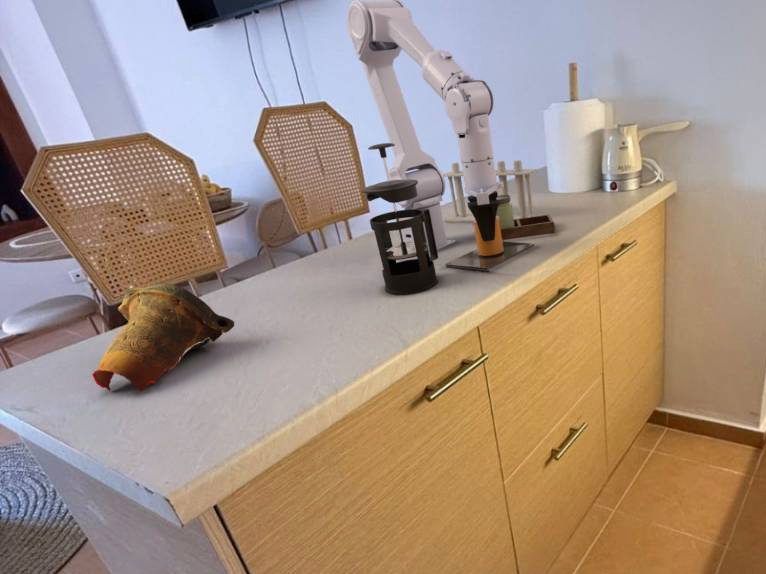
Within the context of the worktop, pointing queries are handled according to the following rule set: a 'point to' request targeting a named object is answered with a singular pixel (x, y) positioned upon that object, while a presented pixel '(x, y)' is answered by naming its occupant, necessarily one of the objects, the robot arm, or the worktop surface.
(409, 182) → the french press
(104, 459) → the worktop surface
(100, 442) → the worktop surface
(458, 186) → the test tube rack
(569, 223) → the worktop surface
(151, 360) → the pot
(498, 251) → the honey jar
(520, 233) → the jar stand
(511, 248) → the slate board
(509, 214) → the sage jar
